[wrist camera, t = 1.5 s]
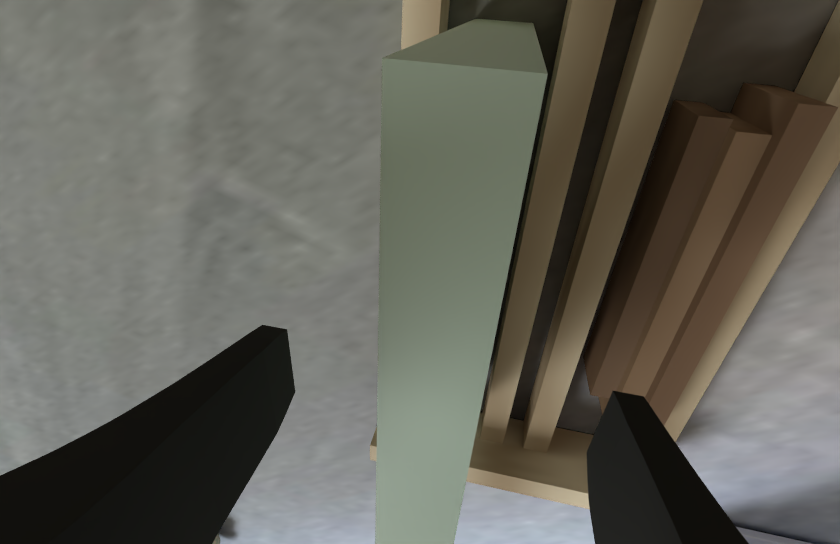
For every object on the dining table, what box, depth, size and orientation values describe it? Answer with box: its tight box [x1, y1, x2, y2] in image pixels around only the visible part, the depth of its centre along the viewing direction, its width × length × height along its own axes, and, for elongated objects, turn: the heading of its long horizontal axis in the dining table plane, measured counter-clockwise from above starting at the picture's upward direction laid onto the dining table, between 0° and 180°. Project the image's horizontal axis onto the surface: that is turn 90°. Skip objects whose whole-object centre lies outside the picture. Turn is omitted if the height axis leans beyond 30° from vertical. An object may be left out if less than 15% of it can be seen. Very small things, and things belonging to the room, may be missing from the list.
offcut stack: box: [583, 83, 838, 425], centre depth 14 cm, size 2×12×3 cm, turn 177°
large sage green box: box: [375, 18, 548, 544], centre depth 12 cm, size 2×14×10 cm, turn 177°
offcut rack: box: [370, 0, 840, 509], centre depth 15 cm, size 12×20×3 cm, turn 177°
